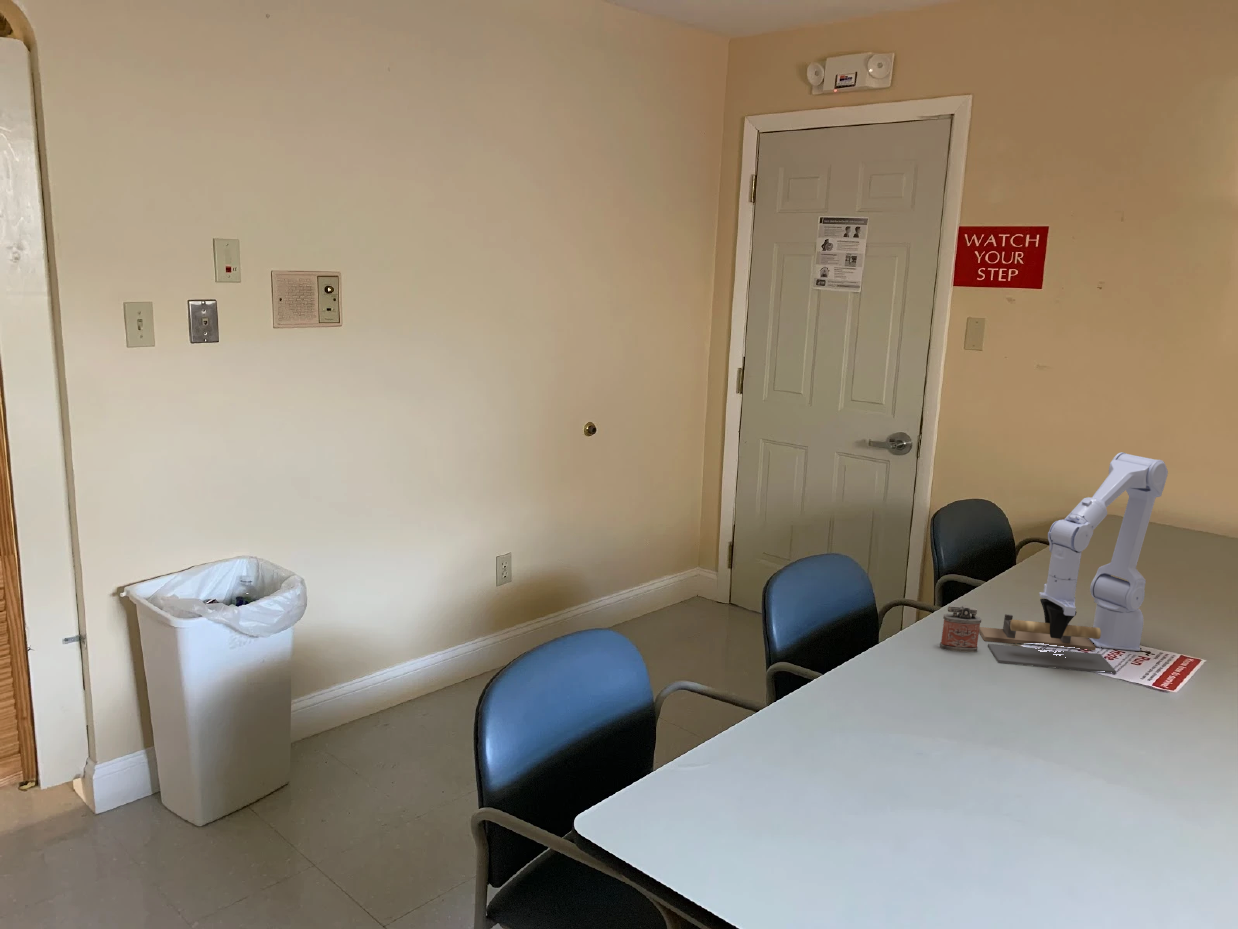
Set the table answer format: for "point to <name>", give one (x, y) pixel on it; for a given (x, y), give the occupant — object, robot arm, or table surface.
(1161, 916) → the table surface
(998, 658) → the mat
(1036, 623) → the rail
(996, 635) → the hook stand
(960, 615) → the lighter
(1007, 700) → the table surface
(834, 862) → the table surface
